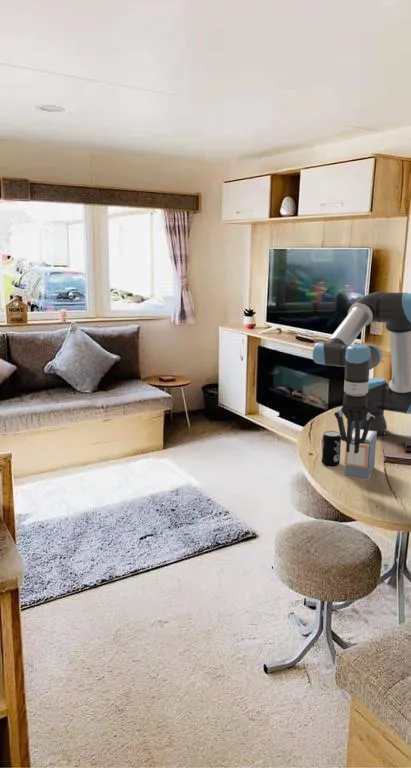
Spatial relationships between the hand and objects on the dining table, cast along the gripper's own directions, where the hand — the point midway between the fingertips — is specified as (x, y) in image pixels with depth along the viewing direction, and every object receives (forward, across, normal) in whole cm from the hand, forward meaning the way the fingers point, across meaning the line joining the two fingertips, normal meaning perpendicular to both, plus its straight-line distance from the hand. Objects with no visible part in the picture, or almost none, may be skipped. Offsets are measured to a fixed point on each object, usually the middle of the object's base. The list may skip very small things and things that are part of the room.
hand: (352, 461), depth 185 cm
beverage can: (+10, -11, +17) cm, 23 cm away
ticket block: (+9, 0, +14) cm, 17 cm away
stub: (0, 0, +8) cm, 8 cm away
